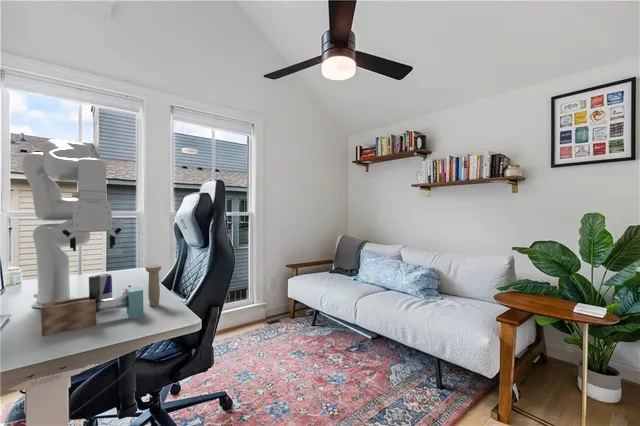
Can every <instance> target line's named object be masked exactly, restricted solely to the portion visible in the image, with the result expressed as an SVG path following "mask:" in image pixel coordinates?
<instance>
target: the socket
mask: <svg viewBox="0 0 640 426" xmlns="http://www.w3.org/2000/svg"><path fill="white" fill-rule="evenodd" d="M132 286H133V287H128V286H126V287H127V288H126V296H127V295H128V296H129V307H127V308H125V310H126V315H127V316H128V319H129V320H131V319H135V318H140V317H144V315H145V314H144V311H145V310H144V289H143V288H142V287H141V286H140V285H132Z"/></svg>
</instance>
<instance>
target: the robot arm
mask: <svg viewBox="0 0 640 426" xmlns="http://www.w3.org/2000/svg"><path fill="white" fill-rule="evenodd" d="M21 163H22V171H23V174H24V177H25V178H26V180H27V182H28V184H29V186H30V188H31V191H32V192H31V194H32V199H33V206H34V213H35V216H36V218H37V220H39V221H41V222H57V223H45V224H40V225H38V226H37V227H35V228H34V229H33V233H32V238H33V242H34V247H35V252H36V275H37V292H36V293H35V294H33V298H34V299H36V301H35V302H34V301H33V303H32V307H33V308H36V309H41V307H42V304H43V303H50V302H56V301H63V300H69V299H76V297H75V296H74V295H71V290H70V289H71V287H70V286H71V285H70V279H71V278H70V258H69V255H68V254H67V253H66V252H64V250H62V249H61V248H65V247H66V248H67V247H69V249H72V251H73V252H76V251H77V246H84V245H87V243H89V241H90V237H91V233H93V232H94V233H95V232H96V233H97V232H107V233H108V234H109V238H108V240H109V249H113V248H114V246H116V236H117V235H118V234H119V233H120V232H121V231H122V230H123V229H124V226H125V225H126V224H125V222H123V221H120V220H117V219H115V218H113V213H112V211H113V210H112V206H111V201H108V198H107V197H108V193H107V192H108V189H107V184H108V183H107V162H106V161H105V160H103V159H99V158H92V153H91V149H90V148H89V146H88V145H86V144H85V143H82V142H75V141H69V140H63V139H62V140H61V139H49V140H46V141H44V143H42V145H41V152H30V153H26V154H25V155H24V156H23V157H22V162H21ZM56 181H59V182H73V183H77V191H76V192H72V193H71V197H72V198H67V197H66V198H65V197H62V193H61V188H60V187H61V186H60V185H58V183H57V182H56ZM58 222H60V223H58ZM113 224H116V225H118V226H117V228H116V229H114V230H112V229H113Z"/></svg>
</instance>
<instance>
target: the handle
mask: <svg viewBox="0 0 640 426" xmlns="http://www.w3.org/2000/svg"><path fill="white" fill-rule="evenodd" d="M161 270H162V265H160V264H151V265H147V266H146V267H145V271H146V272H147V273H148V286H147V287H148V288H147V289H148V290H147V291H148V293H147V294H148V301H149V306H150V307H156V306H159V305H160V295H161V293H160V292H161V288H160V276H159V272H160V271H161Z"/></svg>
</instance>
